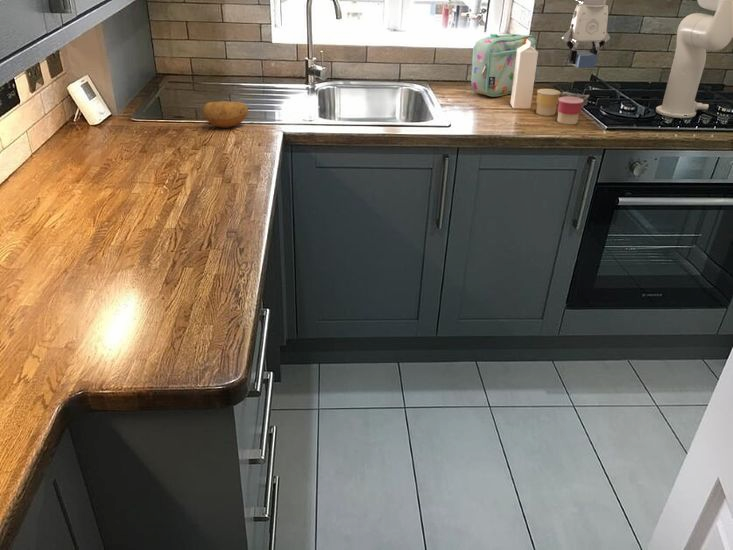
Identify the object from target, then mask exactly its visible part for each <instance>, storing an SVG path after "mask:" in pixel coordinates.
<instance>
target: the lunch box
mask: <svg viewBox="0 0 733 550" xmlns="http://www.w3.org/2000/svg"><path fill="white" fill-rule="evenodd" d="M527 39H528V40H529V41H530V42H531V47H532V48H534V49H535V50H536V51H537V40H536V37H534V36H533V35H532V34H526V35H525V34H518V33H506V34H497V33H495V34H494V33H490V34H489V36H485V37H483V38H480V39H478V40H477V41H476V42H475V43H474V45H473V48H472V55H471V56H472V58H471V74H470V76H471V77H470V79H471V80H470V82H471V89H472V91H473V92H474V93H475V94H478V95H482V96H483V95H484V96H487V97H490V98H497V97H498V98H499V97H502V96H507V95H511V93H512V85H513V77H514V69H515V61H516V53H517V49H518V48H519V47H521V46H523V45H525V44H526V41H527Z"/></svg>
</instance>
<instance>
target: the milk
mask: <svg viewBox="0 0 733 550" xmlns="http://www.w3.org/2000/svg"><path fill="white" fill-rule="evenodd" d="M538 56H539V51H538V50H537V49H536V50H535V49H534V48H532V47H531V42H530V41H529V40H528V39H527V41H526V44H525V45H523V46H521V47H519V48H518V49H517V53H516V61H515V69H514V77H513V85H512V93H511V94H510V102H509V104H510V106H511V107H512V108H513V109H531V106H532V100H533V94H534V93H533V92H534V85H535V80H536V79H535V78H536V71H537V64H538V63H537V62H538Z"/></svg>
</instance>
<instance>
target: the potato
mask: <svg viewBox="0 0 733 550" xmlns="http://www.w3.org/2000/svg"><path fill="white" fill-rule="evenodd" d="M202 114H203V116H204V118H205V119H206V121H207V122H208V124H209V123H210V124H211V125H212V126H215V127H217V128H223V129H228V128H232V127H234V126H237V125H239V124H241V123H242V122H243V121H244V120H245V119H246V118H247V117H248V114H249V108H248V107H247V105H246V104H245V102H240V101H227V100H225V101H223V100H221V101H209V102H207V103H206V104H204V105H203V107H202Z"/></svg>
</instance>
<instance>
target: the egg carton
mask: <svg viewBox="0 0 733 550" xmlns="http://www.w3.org/2000/svg"><path fill="white" fill-rule="evenodd" d="M565 96H571V97H578V98H581V99H583V103H582V107H581V109H583V108H584V106H587V105H588V100H589V98H590V94H583V93H581V94H580V93H572V92H569V91H563V92H560V95H559V98H560V97H565ZM558 105H559V101H558V104H557V105H556V106H558Z"/></svg>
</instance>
